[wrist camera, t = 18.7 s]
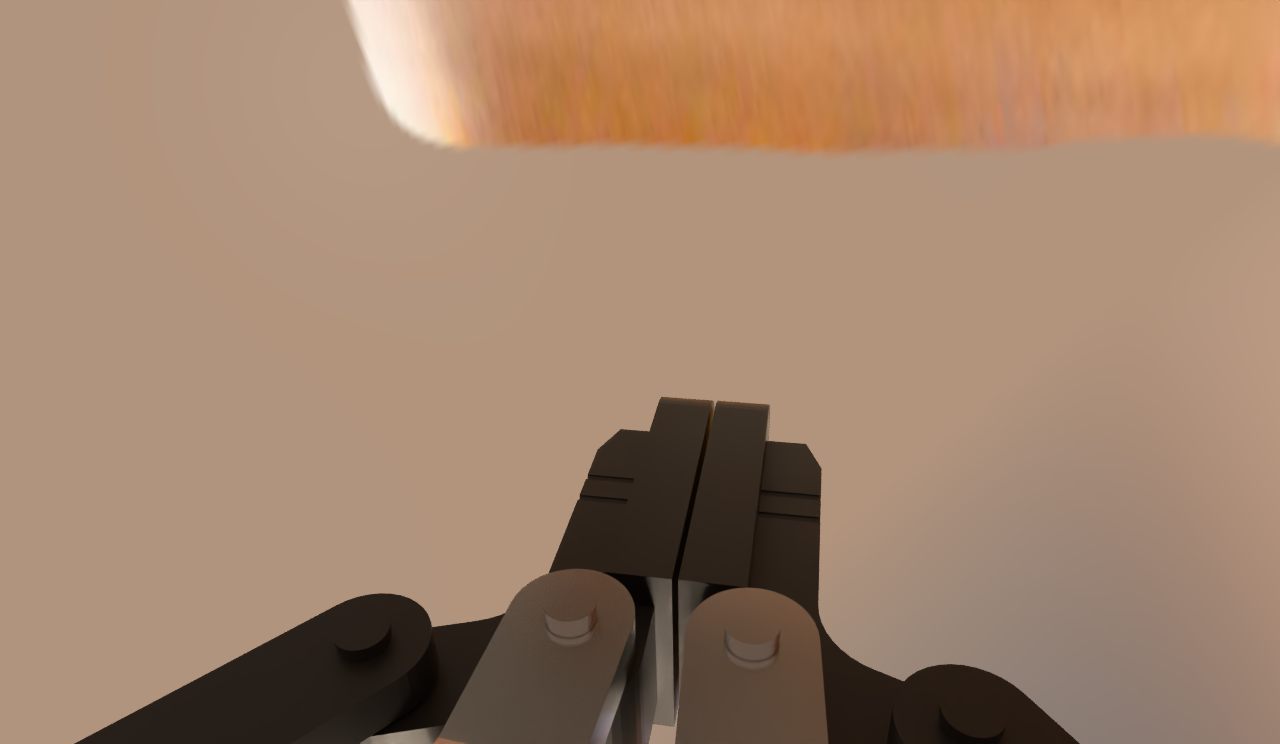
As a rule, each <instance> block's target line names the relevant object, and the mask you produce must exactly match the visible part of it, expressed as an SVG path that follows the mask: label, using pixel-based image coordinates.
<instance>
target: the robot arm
mask: <svg viewBox="0 0 1280 744" xmlns="http://www.w3.org/2000/svg"><path fill="white" fill-rule="evenodd" d="M769 419H770V405H766V404H751V403H739V402H725V401H717V403H716V407H715V408H714V402H713V401H709V400H696V399H682V398H669V397H661V399H660V401H659V403H658V406H657V410H656V413H655V416H654V419H653V422H652V425H651V429H650V431H649V432H648V431H635V430H624V429H621V430H620V431H618V432H617V433H616V434H615V435H614V436H613V437H612V438H611V439H609V440H608V441H607V442H606V443H605V444H604V445H602V446H601V447H600V448H599V449H598V450H597V453H596V455H595V458H594V461H593V463H592V466H591V468H590V470H589V473H588V479H586V481H585V483H584V486H583V488H582V491H581V493H580V499H579V500H578V501H577V503H576V506H575V508H574V511H573V513H572V516H571V518H570V521H569V523H568V526H567V529H566V531H565V534H564V536H563V539H562V541H561V544H560V546H559V549H558V551H557V554H556V556H555V559H554V561H553V564H552V566H551V569H550V571H549V573H548V574H546V575H543V576H541V577H539V578H537V579H535V580H533V581H531V582H530V583H529V584H527V585H526V586H525V587H523V588H522V589H521V590H520V591H519V592H518V593H517V594H516V596H515V597H514V599H513V600H512V602H511V604H510V605H509V607H508V609H507V611H506V613H504V614H502V615H500V616H496V617H493V618H489V619H484V620H479V621H473V622H466V623H459V624H452V625H445V626H437V627H432V625H431V621H430V618H429V616H428V614H427V612H426V611H425V610H424V608H423V607H422V606H420V605H419V604H418V603H417V602H415V601H413V600H411V599H410V598H407V597H404V596H401V595H395V594H370V595H365V596H360V597H356V598H353V599H350V600H347V601H345V602H343V603H341V604H339V605H336V606H335V607H332V608H331V609H329V610H327V611H325V612H323V613H321V614H319V615H317V616H315V617H314V618H312V619H310V620H308V621H306V622H304V623H302V624H300V625H298V626H297V627H295V628H293V629H291V630H289V631H287V632H285V633H283V634H281V635H279V636H278V637H276V638H274V639H272V640H270V641H268V642H266V643H264V644H262V645H261V646H259V647H257V648H255V649H253V650H251V651H249V652H247V653H245V654H243V655H242V656H240V657H238V658H236V659H234V660H232V661H230V662H228V663H226V664H225V665H223V666H221V667H219V668H217V669H215V670H214V671H211V672H209V673H208V674H206V675H204V676H202V677H200V678H198V679H196V680H194V681H193V682H191V683H189V684H187V685H185V686H183V687H181V688H179V689H177V690H175V691H173V692H171V693H170V694H168V695H166V696H164V697H162V698H160V699H158V700H156V701H154V702H153V703H151V704H149V705H147V706H145V707H143V708H142V709H139V710H137V711H136V712H134V713H132V714H130V715H128V716H126V717H124V718H122V719H120V720H118V721H117V722H115V723H113V724H111V725H109V726H107V727H105V728H103V729H101V730H100V731H98V732H96V733H94V734H92V735H90V736H88V737H86V738H84V739H82V740H81V741H79V742H77V743H75V744H648V743H649V739H650V734H651V729H652V724H658V725H665V726H673V727H674V725H675V720H676V714H677V709H678V719H677V729H676V741H675V744H1079V743H1078V742H1077V741H1076V740H1075V739H1074V738H1073V737H1072V736H1071V735H1069V734H1068V733H1067V732H1066V731H1065V730H1064V729H1063V728H1062V727H1061V726H1060V725H1058V724H1057V723H1056V722H1055V721H1054V720H1053V719H1052V718H1050V716H1048V715H1047V714H1046V713H1045V712H1044V711H1043V710H1042V709H1041V708H1039V707H1038V706H1037V705H1036V704H1035V703H1034V702H1033V701H1032V700H1031V699H1030V698H1028V697H1027V696H1026V695H1025V694H1024V693H1023V692H1021V691H1020V690H1019V689H1018V688H1016V687H1015V686H1014V685H1012V684H1011V683H1009V682H1008V681H1006V680H1004V679H1003V678H1001V677H998V676H996V675H994V674H992V673H990V672H987V671H984V670H981V669H978V668H974V667H970V666H965V665H954V664H947V665H937V666H931V667H927V668H925V669H922V670H919V671H917V672H916V673H914V674H912V675H911V676H910V677H908V678H907V679H906V680H905V681H901V680H899V679H896V678H893V677H891V676H889V675H886V674H884V673H881V672H878V671H876V670H874V669H871V668H869V667H867V666H865V665H863V664H861V663H859V662H858V661H856V660H854V659H853V658H851V657H850V656H848V655H847V654H846V653H845V652H843V651H842V650H841V649H840V648H839V647H838V646H837V645H836V644H835V643H834V642H833V641H832V639H831V638H830V637H829V635H828V634H827V633H826V631H825V629H824V627H823V625H822V623H821V620H820V616H819V609H818V590H819V548H820V547H819V546H820V506H821V504H820V503H821V501H820V498H821V467H820V466H819V464H818V462H817V461H816V459H815V458H814V456H813V454H812V453H811V451H810V450H809V448H808V447H807V445H806V444H798V443H785V442H773V441H768V439H769ZM678 704H679V708H678Z"/></svg>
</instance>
